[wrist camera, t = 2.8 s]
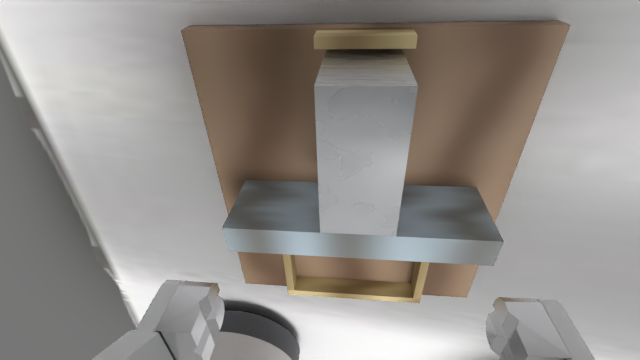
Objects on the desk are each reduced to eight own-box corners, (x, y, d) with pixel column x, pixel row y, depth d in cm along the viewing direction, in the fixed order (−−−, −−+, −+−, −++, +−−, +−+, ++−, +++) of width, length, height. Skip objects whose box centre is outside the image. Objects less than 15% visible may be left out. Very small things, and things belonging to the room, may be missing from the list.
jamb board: (558, 20, 17) (642, 51, 12) (463, 286, 30) (484, 355, 25) (190, 25, 19) (128, 54, 14) (249, 272, 32) (228, 334, 26)
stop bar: (401, 47, 17) (418, 86, 12) (387, 172, 22) (395, 236, 17) (326, 48, 18) (313, 86, 13) (328, 170, 22) (320, 232, 17)
